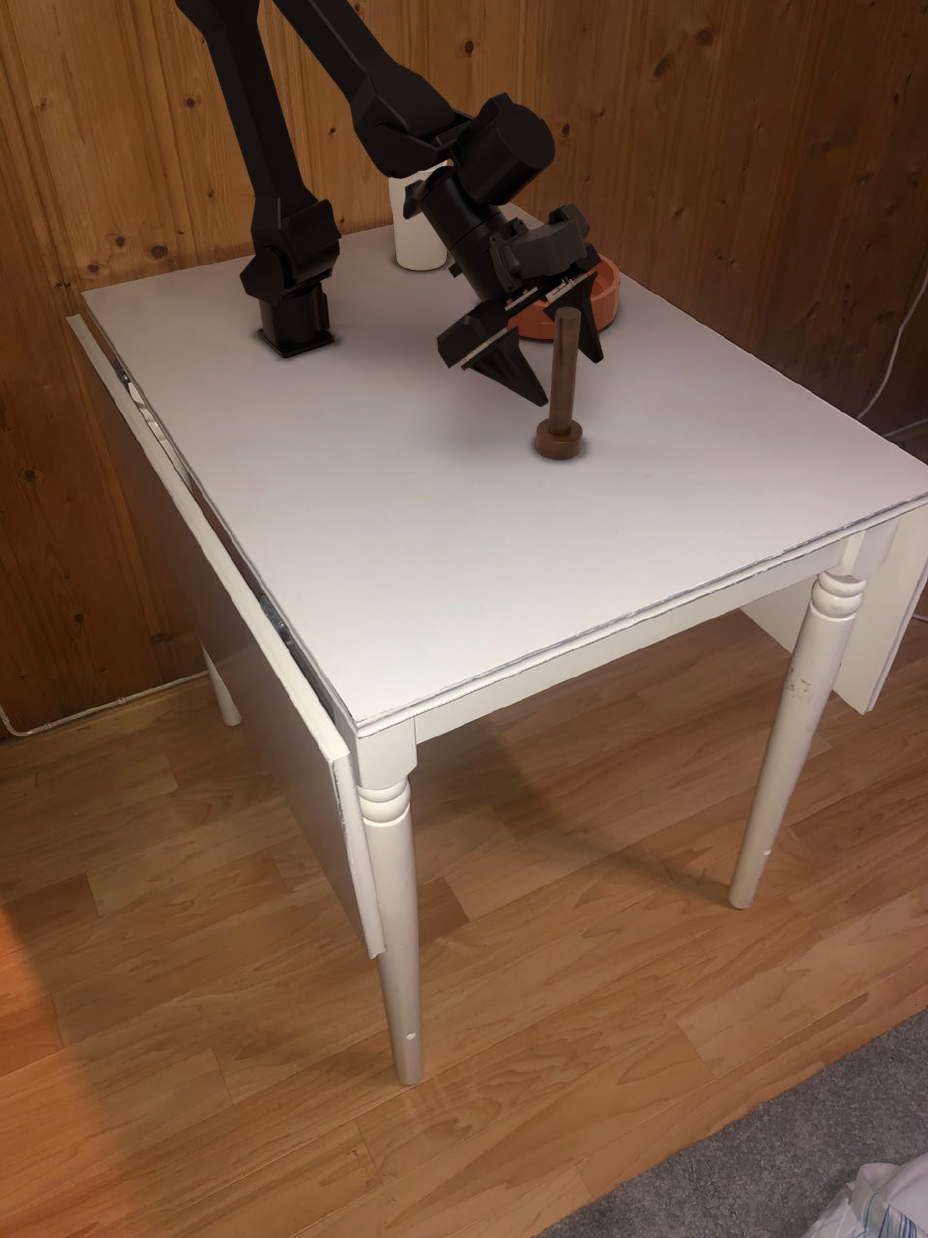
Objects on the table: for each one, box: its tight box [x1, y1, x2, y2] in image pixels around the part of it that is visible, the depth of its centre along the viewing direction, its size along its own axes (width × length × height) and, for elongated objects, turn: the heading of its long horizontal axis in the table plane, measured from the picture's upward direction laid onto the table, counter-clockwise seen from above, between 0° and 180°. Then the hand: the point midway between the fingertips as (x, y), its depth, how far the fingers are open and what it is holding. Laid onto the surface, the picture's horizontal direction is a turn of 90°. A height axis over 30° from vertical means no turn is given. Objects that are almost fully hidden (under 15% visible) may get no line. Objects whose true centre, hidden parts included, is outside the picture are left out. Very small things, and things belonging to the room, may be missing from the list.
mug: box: [388, 160, 448, 272], centre depth 123 cm, size 10×7×12 cm, turn 34°
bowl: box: [506, 252, 622, 340], centre depth 116 cm, size 15×15×4 cm
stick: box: [535, 307, 584, 461], centre depth 93 cm, size 4×4×14 cm
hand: (573, 382), depth 92 cm, fingers open, 9 cm apart
